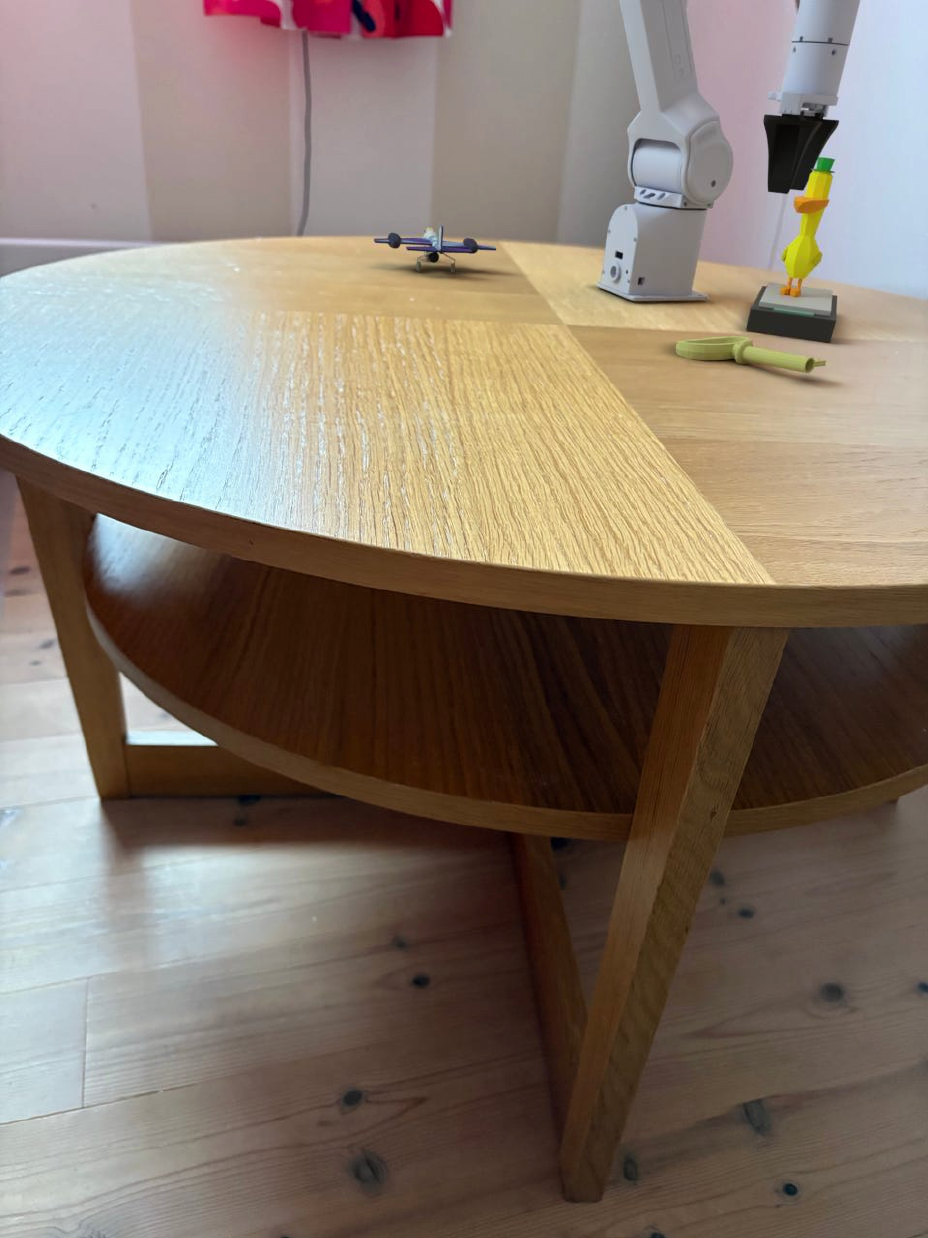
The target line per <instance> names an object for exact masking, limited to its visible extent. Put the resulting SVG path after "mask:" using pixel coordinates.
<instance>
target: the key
mask: <svg viewBox="0 0 928 1238" xmlns="http://www.w3.org/2000/svg"><path fill="white" fill-rule="evenodd" d="M675 353H676V354H677V355H678V356H680V357H683V358H684V359H685V358H686V359H690V360H695V361H720V360H721V361H722V360H733V359H734V360H735V363H736V364H738V365H747V364H749V363H754V364H759V365H763V366H764V365H765V366H768V367H775V368H779V369H783V370H788V371H794V372H799V373H803V374H810V373H812V372H813V370H814V369H815V368H819V367H825V366H826V363H827V360H826V359H819V358H815V357H811V356H806V355H800V354H795V353H790V352H784V351H779V350H773V349H767V348H762V347H758V346H757V347H756V346H754V343H753V339H752V338H750V337H747V336H738V335H730V336H729V335H727V336H726V335H725V336H714V337H713V336H712V337H702V338H701V337H700V338H693V339H682V340H681V339H680V340H677V342H676V345H675Z"/></svg>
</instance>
